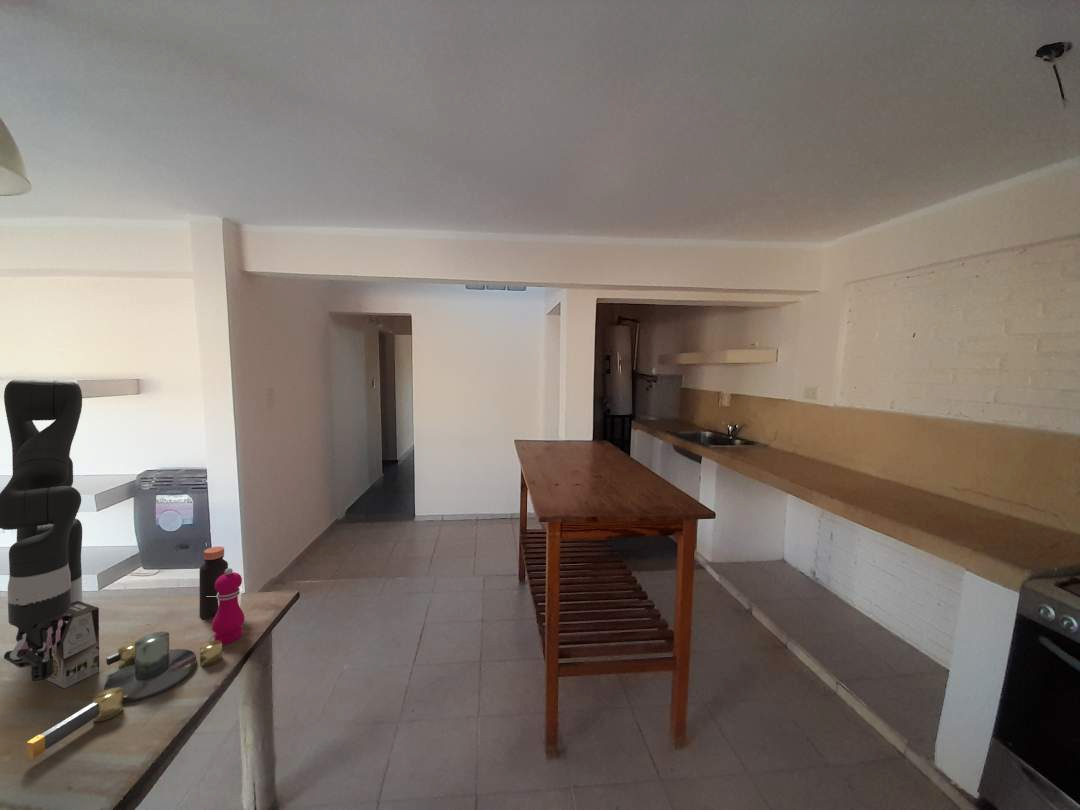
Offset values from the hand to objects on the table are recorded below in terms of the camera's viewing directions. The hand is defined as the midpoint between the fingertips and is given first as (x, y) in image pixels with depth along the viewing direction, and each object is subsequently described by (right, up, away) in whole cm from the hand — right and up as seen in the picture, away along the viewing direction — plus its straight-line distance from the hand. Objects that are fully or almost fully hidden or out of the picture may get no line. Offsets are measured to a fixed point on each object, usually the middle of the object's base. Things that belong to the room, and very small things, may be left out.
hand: (42, 678), depth 78 cm
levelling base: (+1, -13, +21) cm, 25 cm away
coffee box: (-17, -13, +19) cm, 29 cm away
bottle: (-5, -12, +47) cm, 48 cm away
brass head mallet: (+2, -14, +4) cm, 15 cm away
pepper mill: (+8, -13, +35) cm, 39 cm away
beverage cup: (+3, -12, +43) cm, 45 cm away
